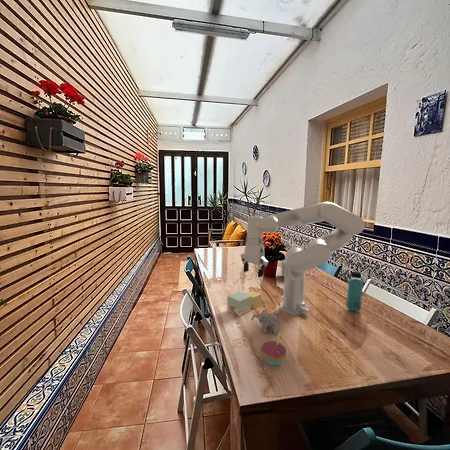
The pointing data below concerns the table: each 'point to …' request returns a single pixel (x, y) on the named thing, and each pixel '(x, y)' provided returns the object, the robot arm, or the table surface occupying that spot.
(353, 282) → the beverage bottle
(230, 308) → the tower base
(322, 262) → the robot arm
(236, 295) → the pale green square block
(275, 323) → the gray elephant figurine
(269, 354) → the cupcake
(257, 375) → the table surface
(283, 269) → the icon cube
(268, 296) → the table surface
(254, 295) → the block
